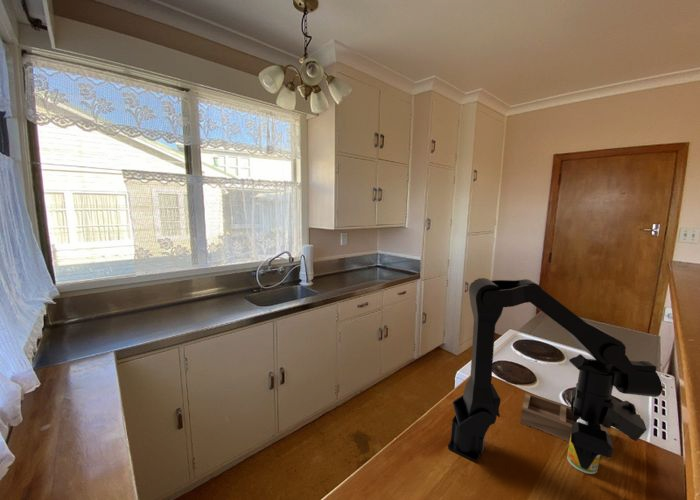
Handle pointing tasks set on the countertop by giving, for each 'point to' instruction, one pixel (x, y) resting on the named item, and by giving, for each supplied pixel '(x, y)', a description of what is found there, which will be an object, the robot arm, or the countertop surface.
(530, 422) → the walnut trough
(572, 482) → the countertop surface
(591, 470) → the supplement bottle
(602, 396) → the robot arm
